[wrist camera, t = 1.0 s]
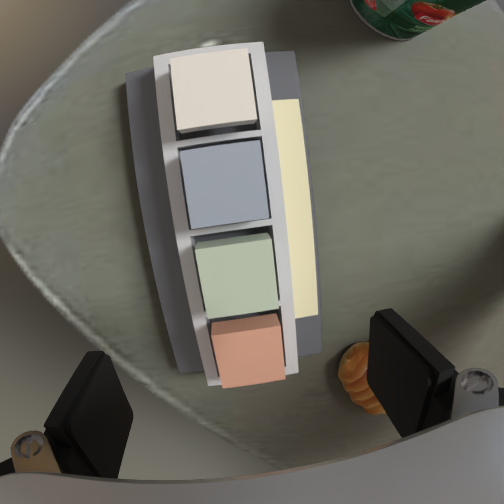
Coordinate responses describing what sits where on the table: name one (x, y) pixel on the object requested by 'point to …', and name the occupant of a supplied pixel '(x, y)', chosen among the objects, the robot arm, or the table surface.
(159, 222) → the keypad
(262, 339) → the terracotta key
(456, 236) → the table surface
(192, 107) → the ivory key
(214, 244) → the sage key
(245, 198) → the slate key
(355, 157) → the table surface
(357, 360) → the pastry
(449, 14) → the canned tomato
